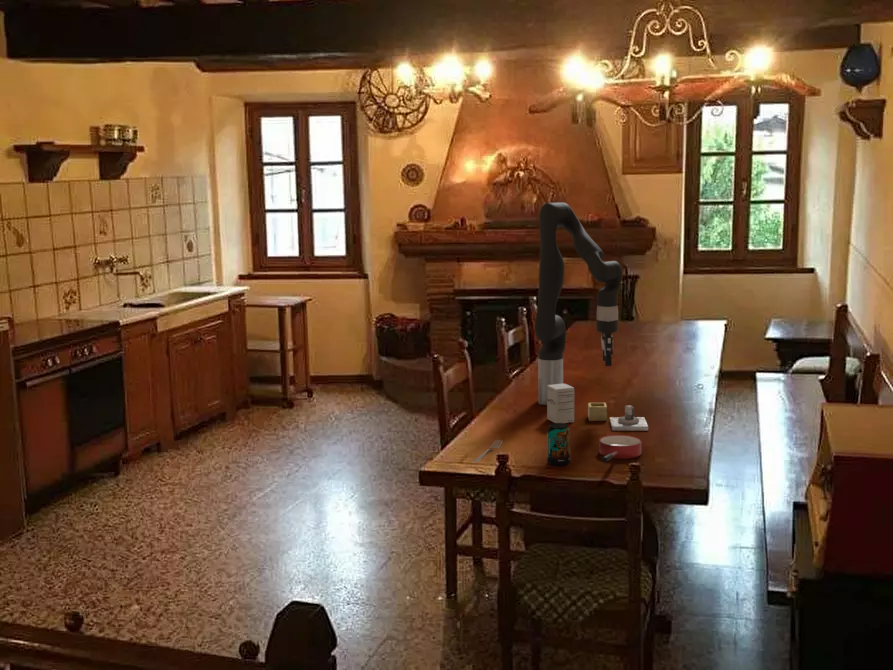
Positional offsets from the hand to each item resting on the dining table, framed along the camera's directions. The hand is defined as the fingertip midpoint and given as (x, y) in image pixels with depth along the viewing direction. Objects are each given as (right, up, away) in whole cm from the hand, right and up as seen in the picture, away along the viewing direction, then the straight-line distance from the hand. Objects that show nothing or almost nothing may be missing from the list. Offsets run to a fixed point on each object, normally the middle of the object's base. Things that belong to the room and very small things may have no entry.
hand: (607, 363), depth 362 cm
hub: (-3, -20, +1) cm, 20 cm away
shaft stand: (+6, -21, -10) cm, 24 cm away
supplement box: (-17, -20, -1) cm, 26 cm away
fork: (-44, -28, -38) cm, 65 cm away
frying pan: (-5, -29, -50) cm, 58 cm away
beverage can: (-23, -29, -50) cm, 62 cm away
